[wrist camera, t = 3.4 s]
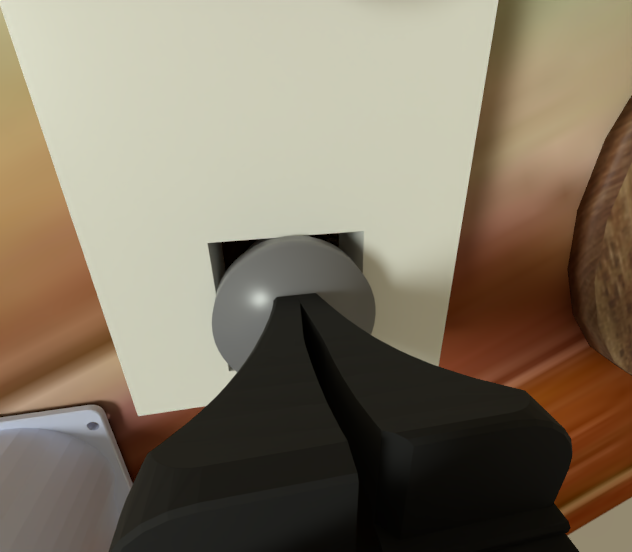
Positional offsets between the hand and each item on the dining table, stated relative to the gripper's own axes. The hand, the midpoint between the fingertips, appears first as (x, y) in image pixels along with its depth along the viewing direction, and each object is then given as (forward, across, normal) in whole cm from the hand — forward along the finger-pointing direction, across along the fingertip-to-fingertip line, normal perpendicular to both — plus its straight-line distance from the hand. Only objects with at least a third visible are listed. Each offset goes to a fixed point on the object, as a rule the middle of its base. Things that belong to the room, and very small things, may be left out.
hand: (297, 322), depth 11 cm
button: (+3, 0, 0) cm, 3 cm away
